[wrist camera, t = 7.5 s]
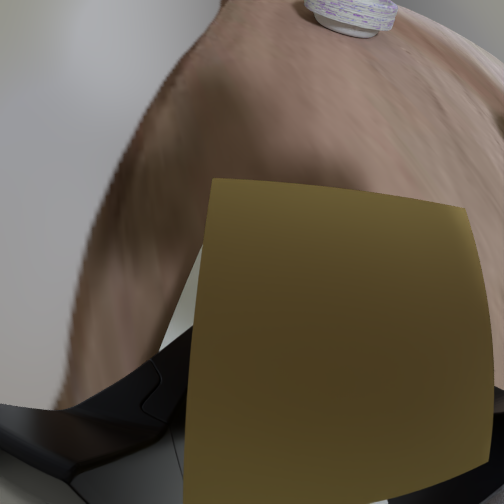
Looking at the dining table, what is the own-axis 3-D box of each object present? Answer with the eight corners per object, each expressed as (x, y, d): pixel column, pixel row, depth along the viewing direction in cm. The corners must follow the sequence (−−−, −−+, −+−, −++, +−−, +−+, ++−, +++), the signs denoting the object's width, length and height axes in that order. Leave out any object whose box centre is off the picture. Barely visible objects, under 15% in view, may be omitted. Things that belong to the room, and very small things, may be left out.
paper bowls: (302, 8, 41) (307, -26, 33) (378, 26, 40) (388, -5, 33) (299, 31, 34) (306, -13, 27) (394, 56, 34) (409, 17, 27)
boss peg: (316, 423, 14) (510, 487, 2) (211, 421, 13) (116, 542, 2) (319, 325, 16) (479, 179, 4) (218, 320, 16) (167, 136, 4)
